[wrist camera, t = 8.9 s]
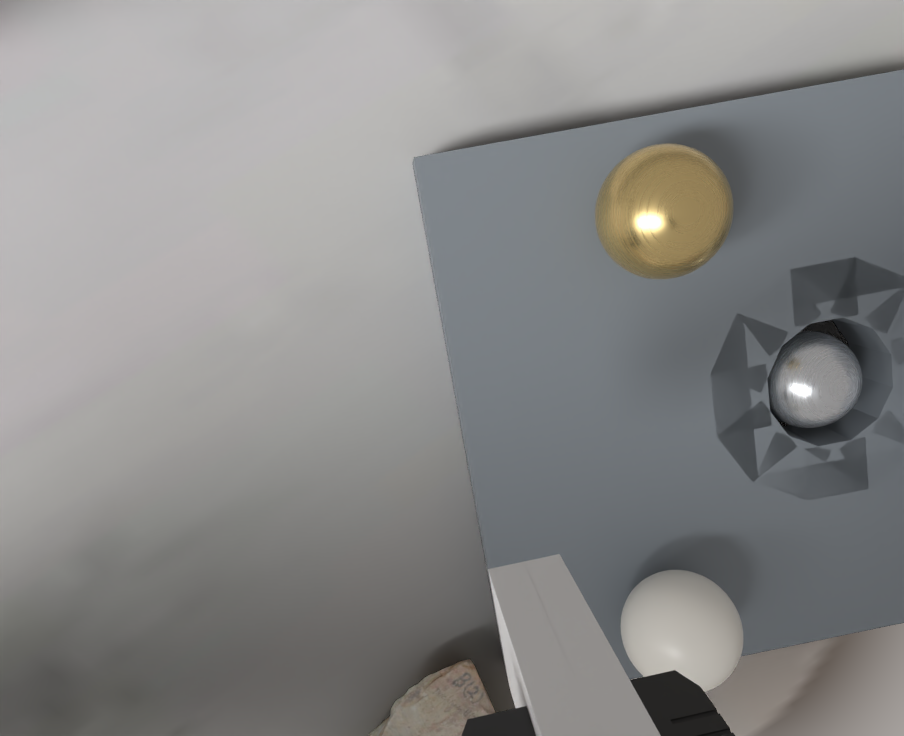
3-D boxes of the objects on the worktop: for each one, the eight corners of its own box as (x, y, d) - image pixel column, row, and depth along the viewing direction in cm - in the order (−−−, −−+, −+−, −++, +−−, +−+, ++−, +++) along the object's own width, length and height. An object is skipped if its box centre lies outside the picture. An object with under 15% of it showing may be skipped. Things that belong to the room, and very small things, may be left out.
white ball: (613, 658, 27) (650, 732, 23) (599, 561, 26) (635, 621, 22) (717, 637, 27) (770, 707, 23) (707, 540, 26) (760, 596, 22)
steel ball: (739, 424, 28) (801, 448, 25) (730, 336, 27) (793, 348, 24) (817, 404, 29) (889, 425, 25) (811, 317, 28) (883, 327, 24)
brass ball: (589, 284, 24) (626, 297, 20) (572, 161, 23) (607, 150, 19) (705, 262, 24) (764, 270, 20) (693, 139, 23) (752, 124, 20)
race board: (503, 663, 30) (524, 751, 25) (412, 163, 25) (415, 150, 20) (926, 576, 30) (1028, 646, 25) (906, 74, 26) (1024, 41, 21)
